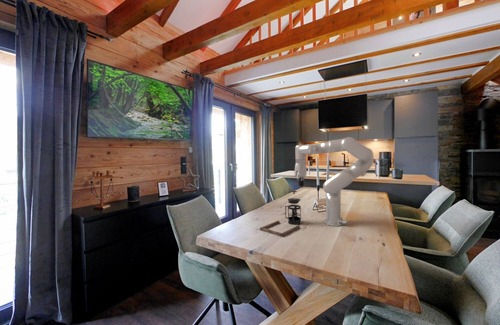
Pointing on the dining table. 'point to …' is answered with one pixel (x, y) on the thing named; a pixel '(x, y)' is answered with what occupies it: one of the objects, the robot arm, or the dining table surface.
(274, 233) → the walnut bay
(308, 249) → the dining table surface
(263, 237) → the dining table surface
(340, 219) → the robot arm
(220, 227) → the dining table surface
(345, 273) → the dining table surface
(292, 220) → the french press
